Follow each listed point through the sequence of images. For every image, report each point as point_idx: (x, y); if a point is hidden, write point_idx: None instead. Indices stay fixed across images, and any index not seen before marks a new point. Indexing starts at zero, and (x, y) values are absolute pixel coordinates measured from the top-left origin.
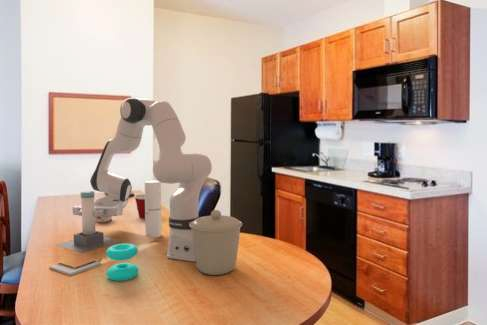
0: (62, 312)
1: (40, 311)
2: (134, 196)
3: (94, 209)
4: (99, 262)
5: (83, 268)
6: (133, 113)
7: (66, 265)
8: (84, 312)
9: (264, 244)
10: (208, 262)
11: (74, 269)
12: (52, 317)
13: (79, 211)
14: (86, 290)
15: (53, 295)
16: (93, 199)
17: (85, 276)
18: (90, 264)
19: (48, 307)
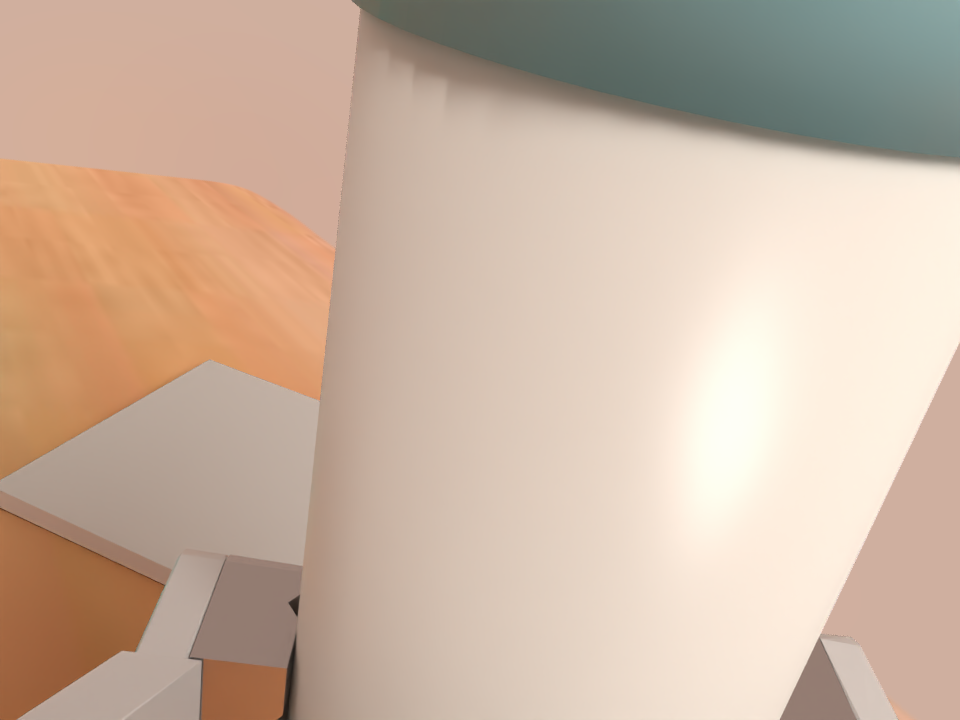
0: (109, 189)
1: (201, 201)
2: None
3: (301, 593)
4: (7, 486)
5: (136, 406)
6: None
7: (309, 451)
8: (17, 179)
9: None
10: None
11: (204, 397)
12: (136, 179)
13: (842, 648)
14: (44, 263)
15: (206, 254)
16: (349, 132)
17: (93, 362)
18: (93, 457)
19: (182, 210)
